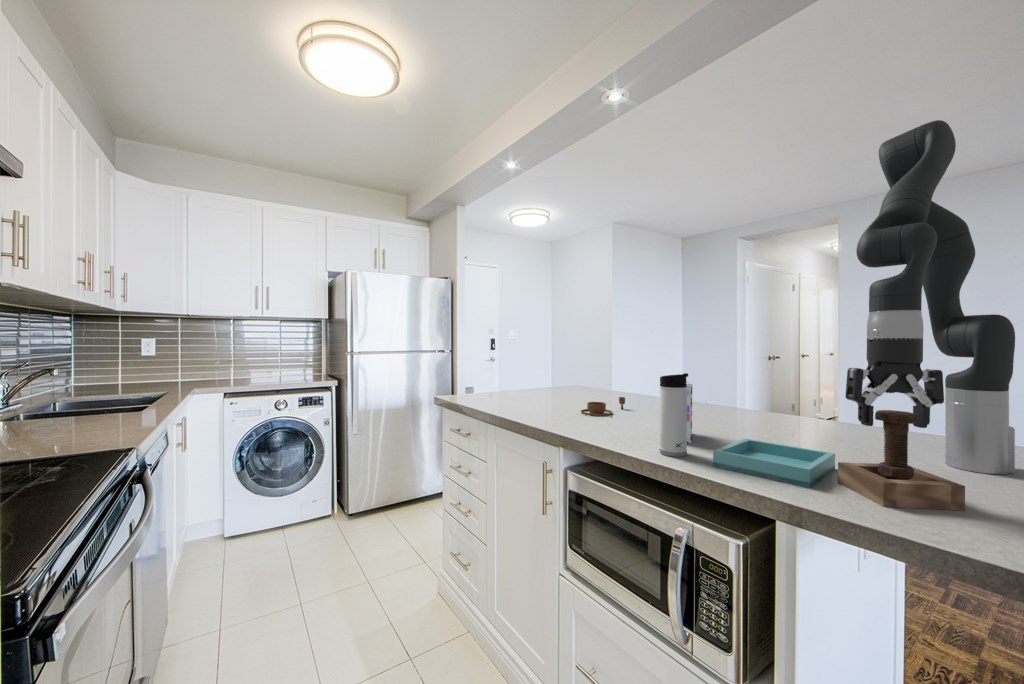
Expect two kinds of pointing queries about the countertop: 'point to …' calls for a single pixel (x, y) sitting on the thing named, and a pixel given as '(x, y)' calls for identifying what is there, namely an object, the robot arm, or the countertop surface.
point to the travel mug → (673, 415)
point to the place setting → (600, 408)
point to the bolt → (896, 444)
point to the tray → (775, 461)
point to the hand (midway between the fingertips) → (893, 426)
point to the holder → (902, 488)
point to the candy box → (689, 412)
